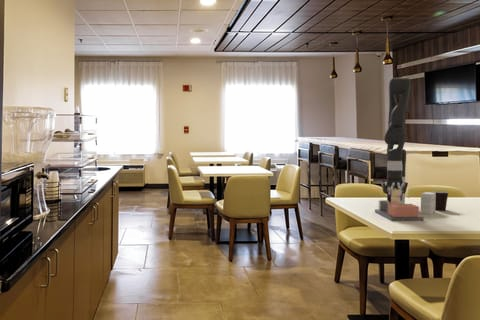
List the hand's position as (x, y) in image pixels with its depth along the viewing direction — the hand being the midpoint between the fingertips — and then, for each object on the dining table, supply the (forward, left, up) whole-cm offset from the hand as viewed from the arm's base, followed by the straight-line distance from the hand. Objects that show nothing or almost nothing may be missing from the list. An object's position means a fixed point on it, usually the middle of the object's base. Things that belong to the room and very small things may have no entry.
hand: (394, 201), depth 230 cm
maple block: (0, 0, -1) cm, 1 cm away
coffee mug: (-12, +31, -7) cm, 34 cm away
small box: (-4, +20, -7) cm, 21 cm away
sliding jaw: (+12, 0, -5) cm, 13 cm away
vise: (+5, 0, -7) cm, 9 cm away
